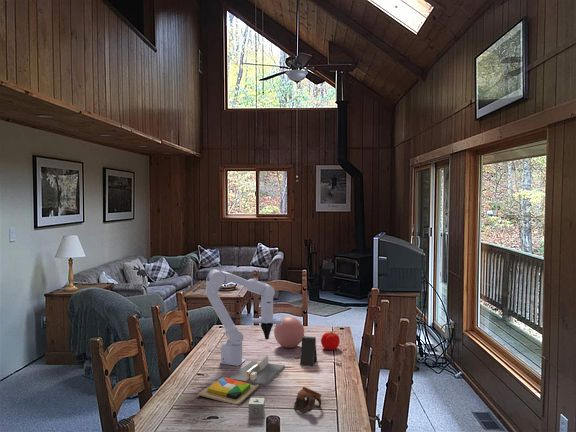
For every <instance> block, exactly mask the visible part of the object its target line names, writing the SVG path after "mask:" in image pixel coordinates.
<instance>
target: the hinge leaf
mask: <svg viewBox="0 0 576 432" xmlns="http://www.w3.org/2000/svg"><path fill="white" fill-rule="evenodd" d="M258 369H259V366H258V364H256V365H254V366H253V367H252V368H250V369H249V370H248V371H247V379H248V380H249V379H250V374H251V373H252V372H258Z"/></svg>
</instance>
